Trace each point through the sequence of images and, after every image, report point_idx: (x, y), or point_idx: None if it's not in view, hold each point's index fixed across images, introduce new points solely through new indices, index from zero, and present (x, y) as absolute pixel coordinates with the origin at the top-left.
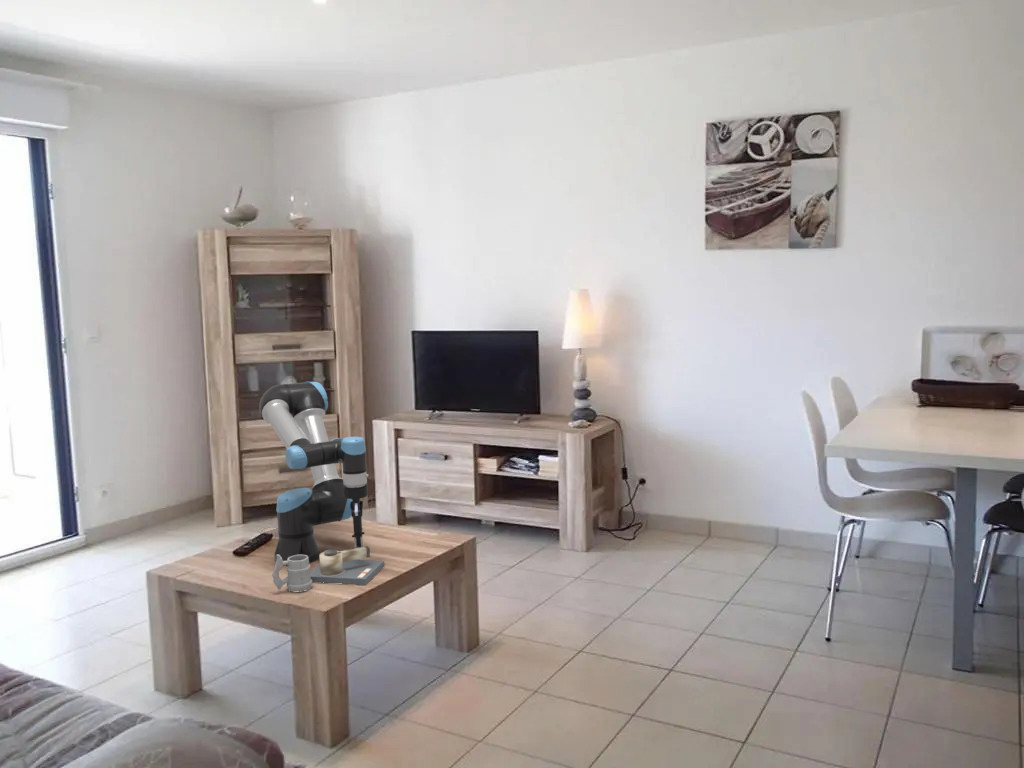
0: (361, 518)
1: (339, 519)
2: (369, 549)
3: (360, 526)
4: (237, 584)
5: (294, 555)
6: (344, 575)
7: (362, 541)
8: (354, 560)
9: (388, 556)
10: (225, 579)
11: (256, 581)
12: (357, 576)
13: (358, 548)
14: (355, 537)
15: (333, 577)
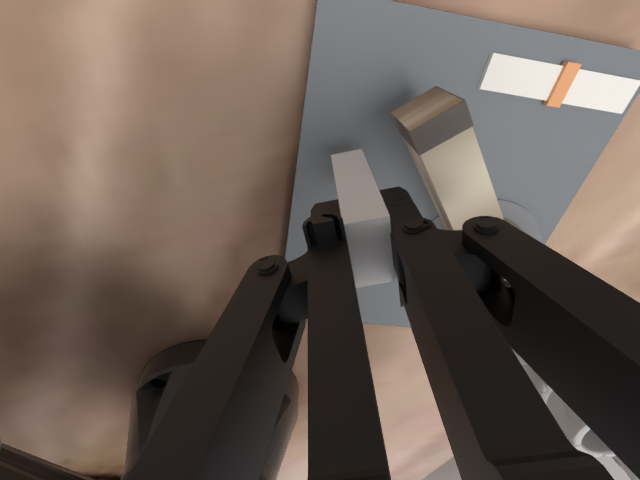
0: (228, 377)
1: (5, 453)
2: (460, 98)
3: (624, 303)
4: (440, 442)
5: (581, 448)
6: (539, 193)
7: (380, 194)
8: (307, 198)
9: (103, 6)
10: (397, 465)
11: (428, 419)
12: (588, 118)
13: (452, 194)
14: (393, 267)
15: (549, 235)
